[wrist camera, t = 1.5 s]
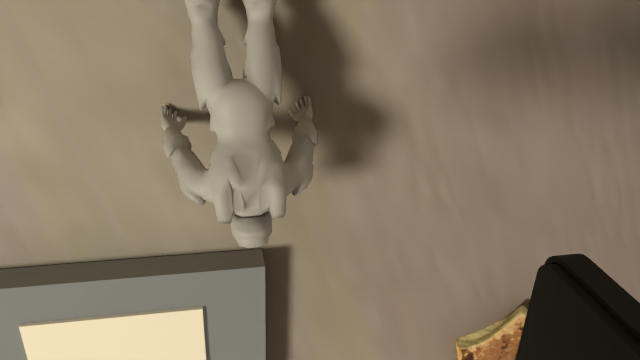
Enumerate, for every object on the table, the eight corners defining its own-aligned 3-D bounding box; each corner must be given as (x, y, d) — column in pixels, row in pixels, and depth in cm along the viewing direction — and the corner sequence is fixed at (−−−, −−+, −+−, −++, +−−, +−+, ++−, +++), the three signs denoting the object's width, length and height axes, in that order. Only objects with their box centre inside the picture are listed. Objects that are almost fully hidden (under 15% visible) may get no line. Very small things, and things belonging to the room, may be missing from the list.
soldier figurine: (143, -54, 22) (174, 234, 24) (120, -107, 17) (162, 267, 19) (297, -57, 23) (318, 219, 25) (320, -108, 18) (344, 246, 20)
